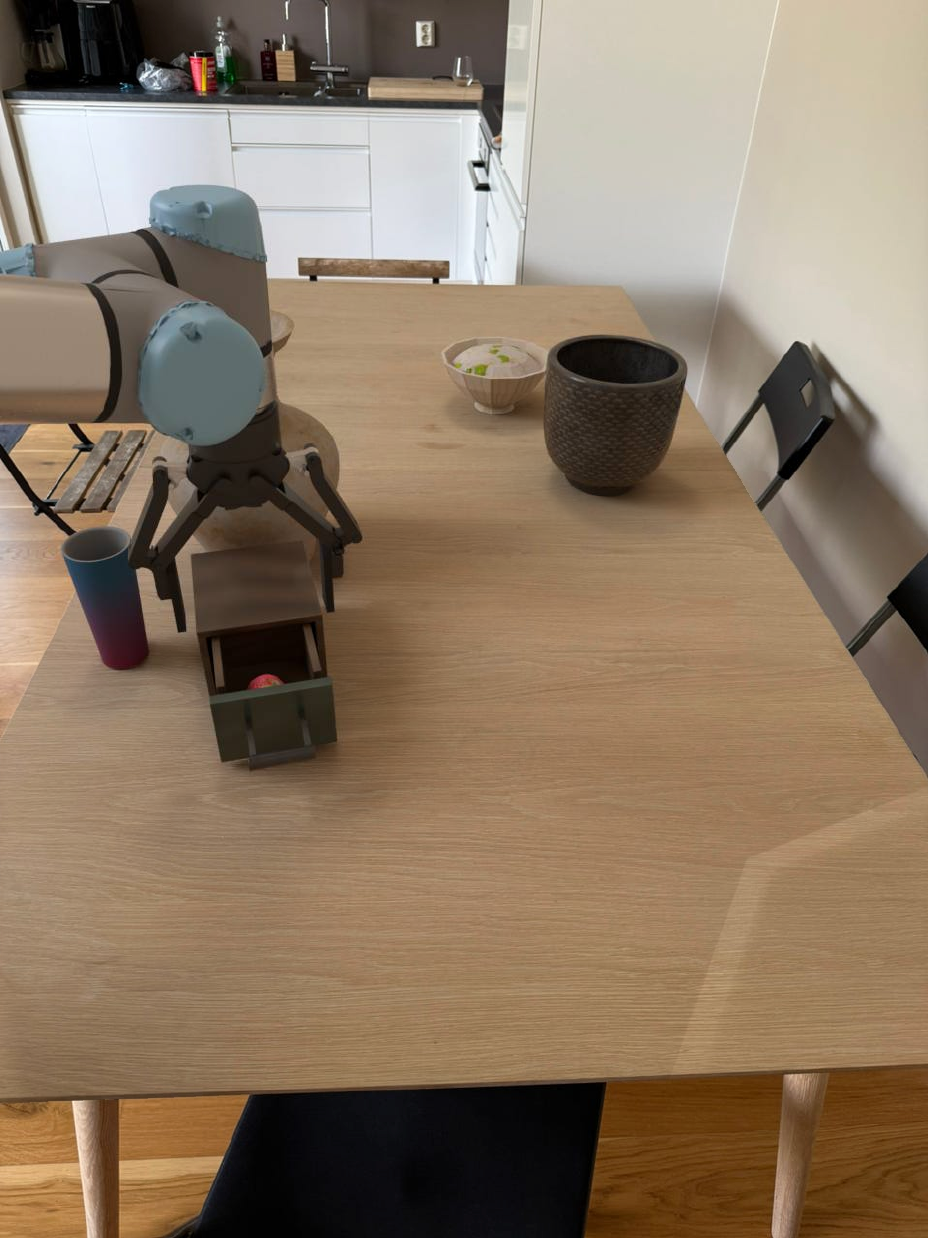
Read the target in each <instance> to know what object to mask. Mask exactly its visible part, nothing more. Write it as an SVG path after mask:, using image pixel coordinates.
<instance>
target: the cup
mask: <svg viewBox="0 0 928 1238" xmlns="http://www.w3.org/2000/svg"><path fill="white" fill-rule="evenodd" d="M131 539H132V536H131V535H130V533H129V532H128V531H126V530H125V529H123V528H121V527H117V526H110V525H101V526H100V525H99V526H93V527H88V528H83V529H81V530H79V531H76V532H74V533H73V534H71V535H69V536H68V537H67V538H65V539H64V541H63V542H62V544H61V546H60V552H61V555H62V558H63V560H64V563H65V566H66V569H67V571H68V573H69V576H70V580H71V582H72V584H73V586H74V587H73V588H74V589H75V592H76V595H77V598H78V600H79V603H80V605H81V608H82V610H83V613H84V616H85V618H86V621H87V623H88V627H89V629H90V631H91V634H92V637H93V639H94V642H95V644H96V647H97V650H98V652H99V656H100V658H101V661H102V663H103V664H104V665H105V666H106V667H107V668H110V669H112V670H117V671H119V670H122V671H123V670H129V669H133V668H135V667H137V666H139V665H141V664H142V663H144V662H145V661H146V660H147V658H148V657H149V654H150V648H149V643H148V636H147V629H146V624H145V619H144V618H145V617H144V611H143V606H142V604H143V603H142V600H141V592H140V586H139V581H138V575H137V569H132V568H130V567H129V566H128V547H129V544H130V542H131Z"/></svg>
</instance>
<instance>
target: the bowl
mask: <svg viewBox="0 0 928 1238" xmlns="http://www.w3.org/2000/svg"><path fill="white" fill-rule="evenodd" d="M549 352H550V351H549V350H548V349H546V348H544V347H542V346H540V345H538V344H536V343H533V342H531V341H528V340H523V339H518V338H512V337H506V336H475V337H471V338H466V339H463V340H458V341H454V342H451V343H450V344H449V345H448V346H447V347H446V348H444V349H443V350H442V351H440V356H441V358H442V362H443V365H444V367H445V369H446V371H447V374H448V375H449V378H450V380H451V381H452V382H453V383H454V385H455V386H456V387H457V388H458V389H459V390H460V391H461V393H463V395H465V396H466V397H468V398H469V399H471V400H473V401H474V408H475V409H476V410H477V411H479V412H480V413H483V414H488V415H505V414H508V413H511V412H512V411H513V410H514V409H515V405H514V404H515V403H517V402H520V401H521V400H523V399H524V398H525V397H526V396H527V395H528V394H530V392H532V391H533V390H534V389H535V388H536V387H537V385H539V384H540V383H541V382H542V380H543V379H544V378H545V377H546V364H547V357H548V353H549Z"/></svg>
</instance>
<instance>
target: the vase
mask: <svg viewBox="0 0 928 1238" xmlns="http://www.w3.org/2000/svg"><path fill="white" fill-rule="evenodd" d="M270 321H271V333H272V345H273V352H274V357H275V356H276V354H277V352H279V351H280V350H282V349H283V348H284V347H285V346H286V345H287V343H288V342H289V339H290V337H291V335H292V333H293V331H294V329H295V323H294V320H293V319H292V318H291V317H289V316H288V315H287V314H285V313H282V312H279V311H276V310H273V309H270ZM275 400H276V401H277V403H278V407H279V418H280V429H281V440H282V448H283V449H284V451H285V452H286V453H289V452H295V451H300V450H303V448H304V446H305V445H306V444H308V443H313V444H315V445H316V447H317V449H318V452H319V455H320V458H321V462H322V467H323V470H324V471H325V473H326V475H327V476H328V478H329V479H330V481H331V482H332V484H333V485H334V487H335V488H336V490H337V489H338V486H339V481H340V469H341V466H340V463H341V462H340V452H339V449H338V447H337V444H336V441H335V439H334V437H333V435H332V434H331V433H330V431H329V430H328V429H327V428H326V427H325V425H324V424H323V423H321V422H320V421H319V420H318V419H316V418H315V417H313V415H312V414H310V413H308V412H306V411H304V410H302V409H300V408H298V407H296V406H293V405H290V404H288V403H284V402H282V401H281V400H280V398H279V396H278V394H277V396H276V398H275ZM158 456H162V457H164V458H165V459H166V460H167V462H186V461H187V459H188V457H189V449H188V444H187V443H184V442H182V441H179V440H177V439H174V438H172V437H170V436H166V438H165V440H164V442H163V444H162V446H161V449H160V452H159V454H158ZM283 480H284V481H285V482H286V483H287V484H288V486H289V487H290V488H291V489H292V490H293V491H294V492H295V493H296V494H297V495H299V496H300V497H301V498H302V499H303V500H304V501H305V502H307V503H308V504H309V505H310V506H311V507H312V508H314V509H315V510H316V511H317V512H318V513H319V514H321V515H322V516H323V517H324V518H325V519H327V518H326V517H327V515H328V513H329V512H330V510H329V509H328V507H327V506H326V504H325V503H324V501H323V500H322V498H321V497H320V495H319V494H318V492H317V491H316V489H315V488H314V486H313V484H312V482H311V479H310V476H309V477H305V476H302V475H301V474H300V473H299V471H298V470H297V469H295V468H290V469H289V472H288V473H287V475H286V476H285V478H284V479H283ZM195 489H196V487H195V486H194V485H193V484H192V483H191V482H190V481H189V480H188V478H183V479H181V480H180V481H179V484H178V486H177V488H175V489H174V490H169V495H168V500H167V502H168V504H169V505H170V507H171V509H172V510H173V512H174V514H175V515H176V517H177V516H178V515H179V513H180V512H181V511H182V509H183V508H184V507H185V505H186V504H187V503H188V501H189V500H190V499H191V497H192V494H193V492H194V490H195ZM337 491H338V490H337ZM192 536H193V537H194V538H195V540H196V541H197V542H198V544H199V545H200V546H201V547H202V548H203V550H204V553H205V552H213V551H221V550H229V549H237V548H245V547H253V546H261V545H269V544H277V543H285V542H293V541H301V540H303V543H304V546H305V550H306V554H307V558H308V562H309V563H310V561H312V559H313V557H314V555H315V552H316V544H317V538H316V537H315V536H314V535H312V534H311V533H310V532H309V531H308V530H306V529H305V528H304V527H303V526H302V525H300V524H299V523H298V522H297V521H296V520H294V519H293V518H292V517H291V516H290V515H288V514H287V513H286V512H285V511H281V510H280V509H278V508H277V507H276V506H275V505H274V504H272V503H271V502H270V501H267V502H266V503H264V504H262V507H254V508H252V507H240V508H237V509H234V510H225V508H222V507H219V506H217V507H216V508H215V509H214V511H213V512H212V513H211V515H210V516H209V517H208V518H207V519H204V520H203V522H202V523H201V524H200V526H199V527H198V528H197V529H196V531H195V532H194V533H193V535H192Z"/></svg>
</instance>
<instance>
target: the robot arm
mask: <svg viewBox="0 0 928 1238" xmlns="http://www.w3.org/2000/svg"><path fill="white" fill-rule="evenodd" d="M258 208H259V207H258V205H257V204H256V201H255V200H254V199H253V197H251V196H250V194H248V193H246V192H244V191H243V190H241V189H237V188H234V187H231V186H225V185H217V184H216V185H215V184H185V185H184V184H183V185H176V186H171V187H169V188H168V189H161V190H158V191H156V192H155V193H154V194H153V195H152V196H151V198H150V200H149V217H148V223H149V225H150V226H149V227H143V228H139V229H136V230H134V231H133V230H132V231H128V232H121V233H113V234H105V235H99V236H92V237H84V238H83V237H82V238H77V239H76V238H75V239H69V240H62V241H61V240H60V241H54V242H53V241H52V242H47V243H39V244H35V243H34V242H27V243H26V244H25V245H24V246H19V247H14V248H10V249H5V250H1V251H0V425H6V426H7V425H10V426H11V425H69V424H70V425H72V424H73V425H74V424H78V425H79V424H81V425H82V424H128V425H129V424H130V425H131V424H146V425H150V426H151V428H152V429H153V430H155V431H156V432H157V433H159V434H160V435H162V436H166V437H168V436H170V437H172V438H174V439H177V440H179V441H182V442H184V443H187V444H188V449H189V457H188V459H187V461H186V462H167V460H166V459H165V458H164V457H162V456H159V455H158V456H155V457H154V458H153V459H152V462H151V467H152V468H151V469H152V470H151V472H152V483H151V486H150V488H149V490H148V494H147V497H146V498H145V502H144V504H143V508H142V509H141V512H140V515H139V518H138V521H137V523H136V526H135V528H134V531H133V534H132V536H131V542H130V544H129V547H128V566H129V567H130V568H132V569H136V570H140V569H147V570H149V571H150V572H151V573H152V576H153V581H154V586H155V590H156V595H157V598H158V599H159V600H160V601H166V600H167V601H168V600H171V605H172V609H173V614H174V619H175V624H176V630H177V633H178V634H180V633H187V631H188V630H187V619H186V617H187V616H186V615H187V614H186V610H185V603H184V599H183V593H182V588H181V583H180V577H179V572H178V566H177V562H176V561H177V560H176V557H177V555H178V554H179V553H180V552H181V550H182V549H183V548H184V547H185V545H186V544H187V542H188V541H189V540H190V538H191V537H192V536H193V533H194V532H195V531H196V529H197V528H198V527H199V526H200V524H201V523H202V522H203V520H204V519H207V518H208V517H209V516H210V515H211V513H212V512H213V511H214V509H215V508H216V507H217V506H219V507H222V508H225V510H234V509H237V508H240V507H252V508H254V507H262V504H264V503H266V502H267V501H270V502H271V503H272V504H274V505H275V506H276V507H277V508H278V509H280V510H281V511H285V512H286V513H287V514H288V515H290V516H291V517H292V518H293V519H294V520H296V521H297V522H298V523H299V524H300V525H302V526H303V527H304V528H305V529H306V530H308V531H309V532H310V533H311V534H312V535H314V536H315V537H316V540H318V551H319V567H320V568H319V569H320V579H321V581H320V582H321V595H322V596H321V597H322V600H323V604H324V607H325V608H324V609H325V612H326V614H331V613H335V612H336V610H335V609H336V608H335V594H334V592H335V591H334V580H336V579H341V578H343V577H344V574H345V568H344V567H345V566H344V554H345V552H346V550H345V548H346V547H347V546H348V545H350V544H353V545H358V544H360V543H361V542H363V539H364V538H363V537H364V536H363V534H362V531H361V528H360V525H359V523H358V521H357V519H356V518H355V516H354V515H353V513H352V511H351V510H350V508H349V507H348V505H347V504H346V502H345V500H344V499H343V498H342V496H341V495H340V493H339V492H338V490H336V488H335V487H334V485H333V484H332V482H331V481H330V479H329V478H328V476H327V475H326V473H325V471H324V470H323V467H322V462H321V458H320V455H319V452H318V449H317V447H316V445H315V444H313V443H308V444H306V445H305V446H304V448H303V450H300V451H295V452H289V453H286V452H285V451H284V449H283V448H282V440H281V429H280V418H279V407H278V403H277V401H276V400H275V398H276V396H277V395H278V384H277V375H276V373H277V372H276V364H275V356H274V352H273V345H272V333H271V321H270V310H271V309H270V297H269V288H268V287H269V285H268V274H267V273H268V272H267V263H268V255H267V253H266V247H265V241H264V233H263V227H262V223H261V220H260V219H261V218H260V212H259V209H258ZM290 468H295V469H297V470H298V471H299V473H300V474H301V475H302V476H305V477H309V476H310V479H311V482H312V484H313V486H314V488H315V489H316V491H317V492H318V494H319V495H320V497H321V498H322V500H323V501H324V503H325V504H326V506H327V507H328V509H329V512H330V513H331V515H332V516H333V518H334V519H335V521H336V522H337V524H338V525H339V526H338V527H336V526H335V525H333V524H332V523H331V522H330V521H329V520H328V519H327V518H324V517H323V516H322V515H321V514H319V513H318V512H317V511H316V510H315V509H314V508H312V507H311V506H310V505H309V504H308V503H307V502H305V501H304V500H303V499H302V498H301V497H300V496H299V495H297V494H296V493H295V492H294V491H293V490H292V489H291V488H290V487H289V486H288V484H287V483H286V482H285V481H284V480H283V479H284V478H285V476H286V475H287V473H288V472H289V469H290ZM183 478H188V480H189V481H190V482H191V483H192V484H193V485H194V486H195V487H196V489H195V490H194V492H193V494H192V497H191V499H190V500H189V501H188V503H187V504H186V505H185V507H184V508H183V509H182V511H181V512H180V513H179V515H178V516H177V515H176V517H175V518H174V520H173V521H172V523H171V524H170V525H169V526H168V528H167V529H166V530H165V531H164V532H163V534H162V536H161V537H160V538H159V539H158V541H157V542H156V543H155V545H153V544H152V542H153V539H154V537H155V534H156V532H157V529H158V527H159V524H160V521H161V519H162V517H163V513H164V511H165V509H166V506H167V503H168V495H169V490H174V489H175V488H177V486H178V484H179V481H180V480H181V479H183Z"/></svg>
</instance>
